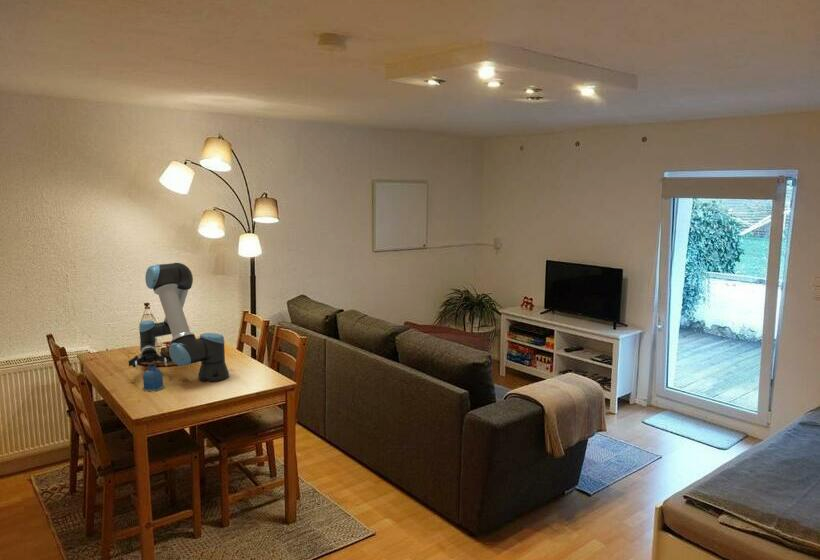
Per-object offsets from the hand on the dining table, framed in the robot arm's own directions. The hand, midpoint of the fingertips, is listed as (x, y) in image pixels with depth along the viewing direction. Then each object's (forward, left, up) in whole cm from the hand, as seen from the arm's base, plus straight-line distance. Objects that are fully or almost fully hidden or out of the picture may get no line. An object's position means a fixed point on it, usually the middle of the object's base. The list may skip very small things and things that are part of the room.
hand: (151, 365), depth 294 cm
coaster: (-6, +6, -9) cm, 12 cm away
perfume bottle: (-6, +6, -9) cm, 12 cm away
